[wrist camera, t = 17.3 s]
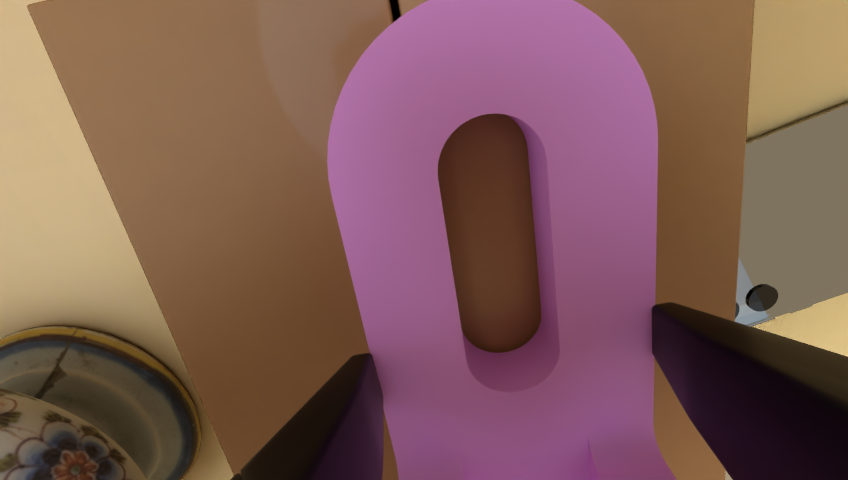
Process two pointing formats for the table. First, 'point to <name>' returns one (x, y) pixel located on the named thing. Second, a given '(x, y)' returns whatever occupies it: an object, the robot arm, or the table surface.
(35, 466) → the apothecary jar
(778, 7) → the table surface
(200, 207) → the carton
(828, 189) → the smartphone
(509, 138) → the flap
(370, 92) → the bracket
